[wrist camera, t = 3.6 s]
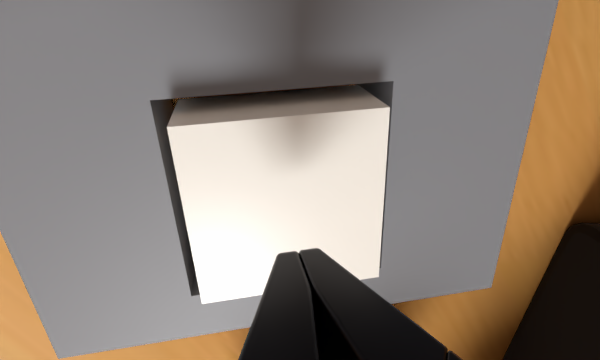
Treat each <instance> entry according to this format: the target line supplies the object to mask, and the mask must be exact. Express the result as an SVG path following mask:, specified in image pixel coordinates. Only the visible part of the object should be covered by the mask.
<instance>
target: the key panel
mask: <svg viewBox="0 0 600 360" xmlns="http://www.w3.org/2000/svg"><path fill="white" fill-rule="evenodd" d="M557 5H558V0H0V232H1V234H2V236H3V238H4V240H5V243H6V245H7V247H8V249H9V251H10V254H11V256H12V258H13V260H14V262H15V265H16V267H17V269H18V271H19V273H20V276H21V278H22V280H23V282H24V284H25V287H26V289H27V291H28V293H29V295H30V298H31V300H32V302H33V304H34V306H35V309H36V311H37V313H38V315H39V317H40V320H41V322H42V324H43V326H44V328H45V331H46V333H47V335H48V337H49V339H50V342H51V344H52V346H53V348H54V350H55V353H56V355H57V357H58V359H60V358H66V357H72V356H78V355H84V354H90V353H96V352H102V351H108V350H114V349H121V348H127V347H133V346H139V345H145V344H151V343H157V342H163V341H169V340H175V339H181V338H187V337H193V336H200V335H206V334H212V333H218V332H224V331H230V330H236V329H242V328H248V327H251V324H252V321H253V319H254V316H255V313H256V310H257V308H258V305H259V302H260V300H261V297H262V295H258V296H251V297H245V298H238V299H232V300H225V301H219V302H212V303H206V304H202V302H201V297H200V292H199V287H198V282H197V277H196V272H195V267H194V262H193V257H192V252H191V247H190V242H189V237H188V232H187V227H186V221H185V216H184V211H183V206H182V201H181V196H180V191H179V186H178V181H177V176H176V171H175V166H174V161H173V156H172V151H171V146H170V141H169V136H168V131H167V125H168V123H169V120H170V118H171V116H172V113H173V111H174V110H173V105H172V100H171V99H174V98H187V97H199V96H212V95H224V94H237V93H250V92H262V91H275V90H287V89H300V88H313V87H325V86H338V85H350V84H356V85H359V86H360V87H362V88H363V89H365V90H366V91H367V92H369V93H370V94H372V95H373V96H375V97H376V98H378V99H379V100H380V101H382V102H383V103H385V104H386V105H388V106H389V107H390V115H389V130H388V145H387V160H386V176H385V191H384V206H383V221H382V236H381V251H380V266H379V277H375V278H369V279H362V280H361V281H362V282H363V283H364V284H366V285H367V286H368V287H370V288H371V289H372V290H373V291H375V292H376V293H377V294H379V295H380V296H381V297H382V298H384V299H385V300H386V301H388V302H389V303H390V304H394V303H400V302H406V301H412V300H418V299H425V298H431V297H437V296H443V295H449V294H455V293H461V292H467V291H473V290H479V289H485V288H491V287H492V282H493V278H494V274H495V269H496V265H497V261H498V257H499V252H500V248H501V244H502V240H503V235H504V231H505V227H506V222H507V218H508V214H509V210H510V205H511V201H512V197H513V193H514V188H515V184H516V180H517V176H518V171H519V167H520V163H521V158H522V154H523V150H524V146H525V141H526V137H527V133H528V129H529V124H530V120H531V116H532V111H533V107H534V103H535V99H536V94H537V90H538V86H539V82H540V77H541V73H542V69H543V65H544V60H545V56H546V52H547V47H548V43H549V39H550V35H551V30H552V26H553V22H554V18H555V13H556V9H557Z"/></svg>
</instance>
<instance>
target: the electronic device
mask: <svg viewBox="0 0 600 360" xmlns="http://www.w3.org/2000/svg"><path fill="white" fill-rule="evenodd" d="M503 360H600V224H599V223H580V224H576V225H572V226H571V227H570V228H569V229H568V230H567V232H566V233H565V234H564V236H563V238H562V240H561V242H560V244H559V246H558V248H557V250H556V253H555V255H554V257H553V259H552V261H551V263H550V265H549V267H548V269H547V271H546V273H545V275H544V277H543V279H542V281H541V283H540V285H539V287H538V289H537V291H536V293H535V295H534V297H533V299H532V301H531V303H530V305H529V307H528V309H527V311H526V313H525V315H524V317H523V319H522V321H521V323H520V325H519V327H518V329H517V331H516V333H515V335H514V338H513V340H512V342H511V344H510V346H509V348H508V350H507V352H506V354H505V356H504V358H503Z"/></svg>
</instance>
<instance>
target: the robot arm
mask: <svg viewBox="0 0 600 360" xmlns="http://www.w3.org/2000/svg"><path fill="white" fill-rule="evenodd" d="M238 360H462V359H461V358H460V357H459V356H457V355H456V354H455V353H453V352H452V351H448V353H447V347H445V346H444V345H443V344H442V343H440V342H439V341H438V340H436V339H435V338H434V337H433V336H431V335H430V334H429V333H427V332H426V331H425V330H424V329H422V328H421V327H420V326H418V325H417V324H416V323H415V322H413V321H412V320H411V319H409V318H408V317H407V316H406V315H404V314H403V313H402V312H400V311H399V310H398V309H397V308H395V307H394V306H393V305H391V304H390V303H389V302H388V301H386V300H385V299H384V298H382V297H381V296H380V295H379V294H377V293H376V292H375V291H373V290H372V289H371V288H370V287H368V286H367V285H366V284H364V283H363V282H362V281H361V280H359V279H358V278H357V277H355V276H354V275H353V274H352V273H350V272H349V271H348V270H346V269H345V268H344V267H343V266H341V265H340V264H339V263H337V262H336V261H335V260H334V259H332V258H331V257H330V256H328V255H327V254H326V253H325V252H323V251H322V250H321V249H319V248H312V249H305V250H300V251H299V253H298V252H296V251H291V252H283V253H279V254H278V255H277V256H276V259H275V262H274V264H273V267H272V270H271V272H270V275H269V278H268V281H267V283H266V286H265V289H264V291H263V294H262V297H261V300H260V302H259V305H258V308H257V310H256V313H255V316H254V319H253V321H252V324H251V327H250V329H249V332H248V335H247V338H246V340H245V343H244V346H243V349H242V351H241V354H240V357H239V359H238Z"/></svg>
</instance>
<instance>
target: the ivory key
mask: <svg viewBox="0 0 600 360" xmlns="http://www.w3.org/2000/svg"><path fill="white" fill-rule="evenodd" d="M389 115H390V107H389V106H388V105H386V104H385V103H383V102H382V101H380V100H379V99H378V98H376V97H375V96H373V95H372V94H370V93H369V92H367V91H366V90H365V89H363V88H362V87H360V86H359V85H351V86H339V87H326V88H314V89H301V90H289V91H276V92H264V93H251V94H239V95H226V96H213V97H201V98H188V99H178V101H177V104H176V106H175V108H174V111H173V113H172V116H171V118H170V120H169V123H168V125H167V131H168V136H169V141H170V146H171V151H172V156H173V161H174V166H175V171H176V176H177V181H178V186H179V191H180V196H181V201H182V206H183V211H184V216H185V221H186V227H187V232H188V237H189V242H190V247H191V252H192V257H193V262H194V267H195V272H196V277H197V282H198V287H199V292H200V297H201V302H202V304H206V303H212V302H219V301H225V300H232V299H238V298H245V297H251V296H258V295H262V294H263V291H264V289H265V286H266V283H267V281H268V278H269V275H270V272H271V270H272V267H273V264H274V262H275V259H276V256H277V255H278V254H279V253H283V252H291V251H296V252H298V253H299V251H300V250H305V249H312V248H319V249H321V250H322V251H323V252H325V253H326V254H327V255H328V256H330V257H331V258H332V259H334V260H335V261H336V262H337V263H339V264H340V265H341V266H343V267H344V268H345V269H346V270H348V271H349V272H350V273H352V274H353V275H354V276H355V277H357V278H358V279H359V280H362V279H369V278H375V277H379V266H380V251H381V236H382V221H383V206H384V191H385V176H386V160H387V145H388V130H389Z"/></svg>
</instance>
